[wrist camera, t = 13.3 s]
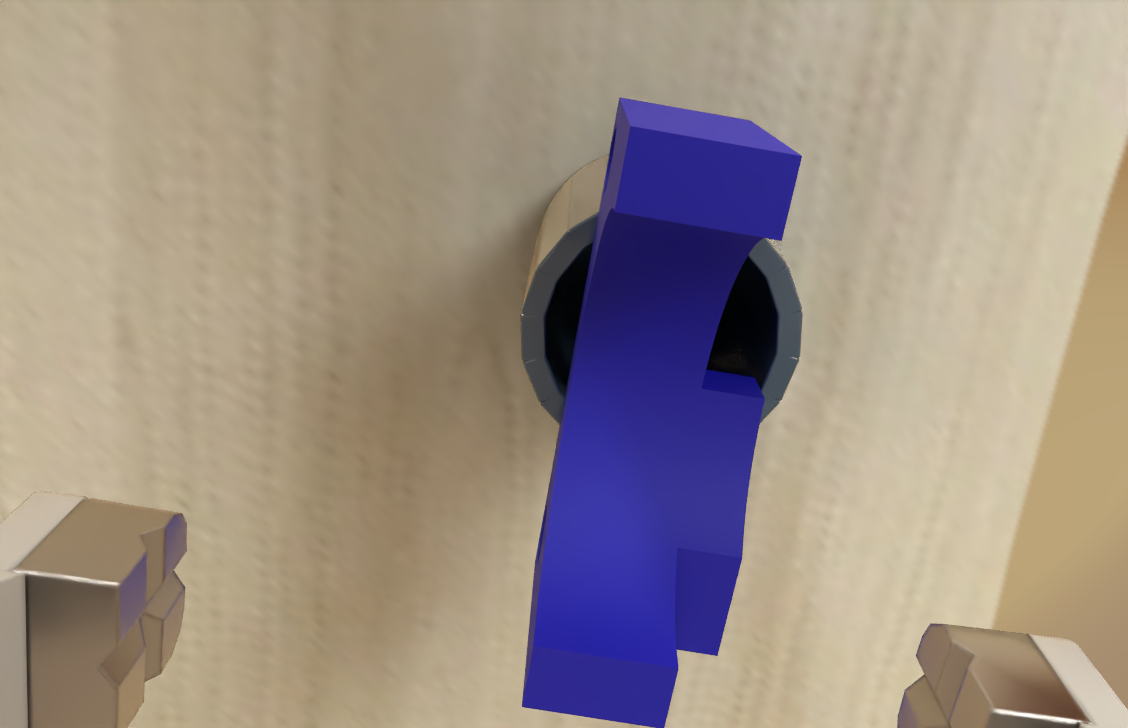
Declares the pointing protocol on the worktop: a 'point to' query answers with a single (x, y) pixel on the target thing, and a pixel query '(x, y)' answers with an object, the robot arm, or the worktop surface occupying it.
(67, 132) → the worktop surface
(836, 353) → the worktop surface
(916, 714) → the robot arm
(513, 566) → the worktop surface
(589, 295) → the blue half clamp bracket
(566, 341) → the tumbler
